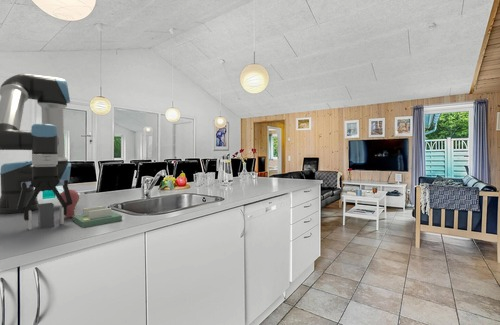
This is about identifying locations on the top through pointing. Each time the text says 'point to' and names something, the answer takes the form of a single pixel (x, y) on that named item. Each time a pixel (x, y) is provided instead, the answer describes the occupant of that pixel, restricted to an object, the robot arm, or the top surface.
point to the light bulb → (75, 199)
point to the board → (96, 216)
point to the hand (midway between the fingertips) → (46, 226)
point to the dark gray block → (46, 215)
